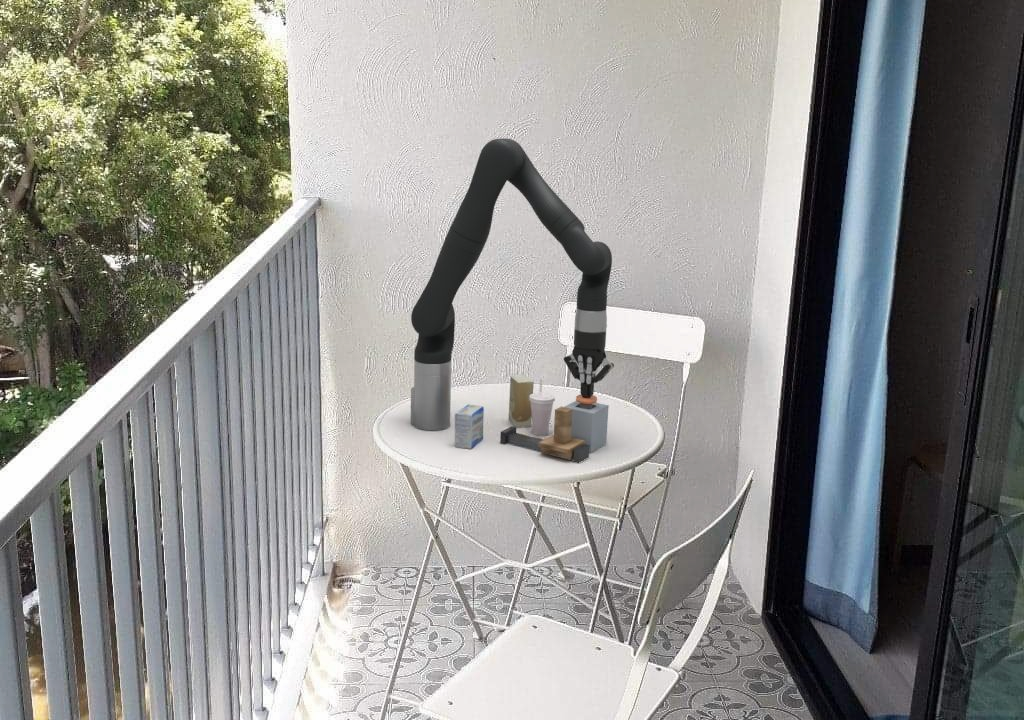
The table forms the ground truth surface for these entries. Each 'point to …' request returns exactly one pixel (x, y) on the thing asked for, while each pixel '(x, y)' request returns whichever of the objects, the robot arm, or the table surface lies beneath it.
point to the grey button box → (590, 424)
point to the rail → (537, 443)
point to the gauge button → (586, 401)
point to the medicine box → (469, 426)
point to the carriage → (561, 436)
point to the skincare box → (520, 400)
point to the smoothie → (541, 411)
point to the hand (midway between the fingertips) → (586, 397)
